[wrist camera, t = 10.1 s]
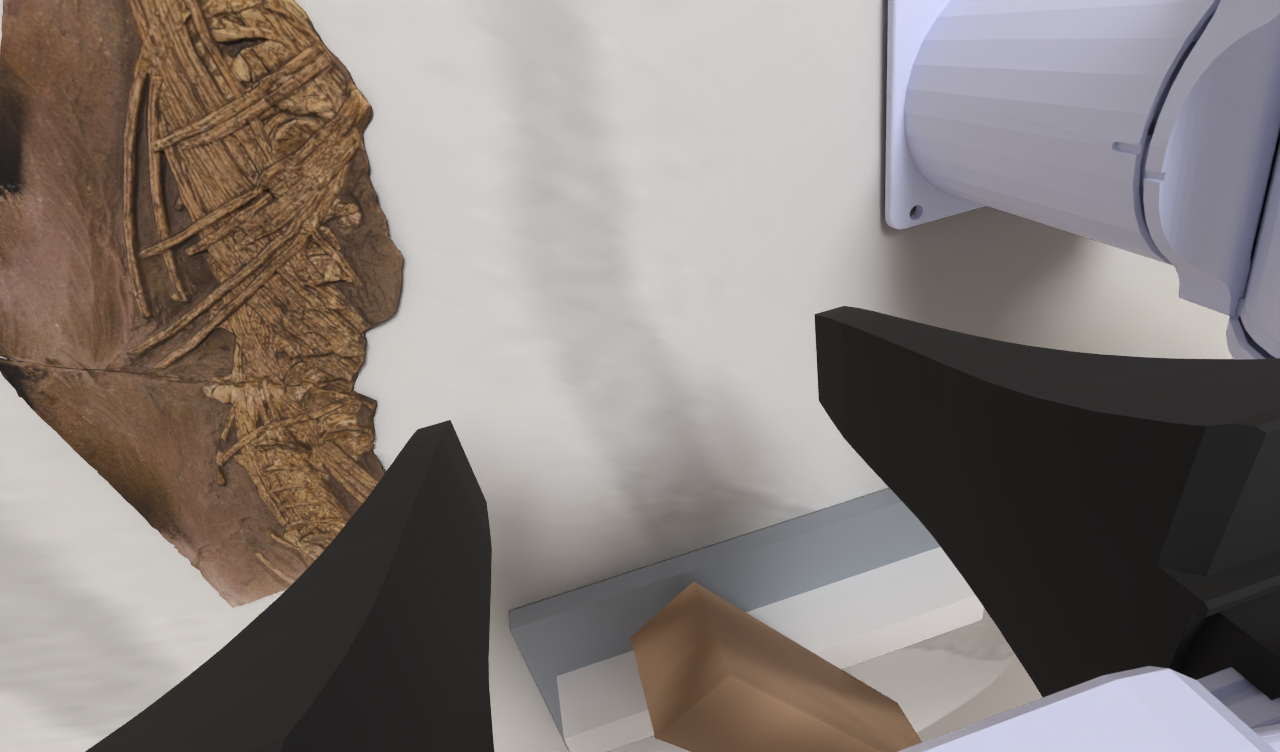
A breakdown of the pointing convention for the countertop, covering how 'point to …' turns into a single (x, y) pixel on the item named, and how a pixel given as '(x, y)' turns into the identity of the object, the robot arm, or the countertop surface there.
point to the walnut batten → (753, 687)
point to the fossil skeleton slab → (195, 268)
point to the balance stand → (747, 608)
